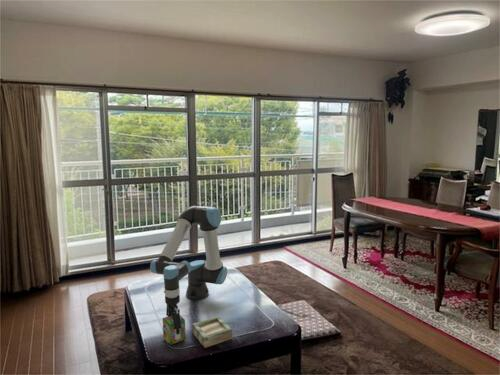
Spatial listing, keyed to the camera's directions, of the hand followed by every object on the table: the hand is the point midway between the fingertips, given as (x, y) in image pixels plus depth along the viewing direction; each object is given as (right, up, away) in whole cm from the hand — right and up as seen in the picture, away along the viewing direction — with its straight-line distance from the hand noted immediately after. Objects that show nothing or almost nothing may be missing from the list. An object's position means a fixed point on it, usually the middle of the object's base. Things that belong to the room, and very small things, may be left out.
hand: (174, 334), depth 193 cm
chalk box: (0, -3, 0) cm, 3 cm away
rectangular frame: (+20, -3, +4) cm, 20 cm away
